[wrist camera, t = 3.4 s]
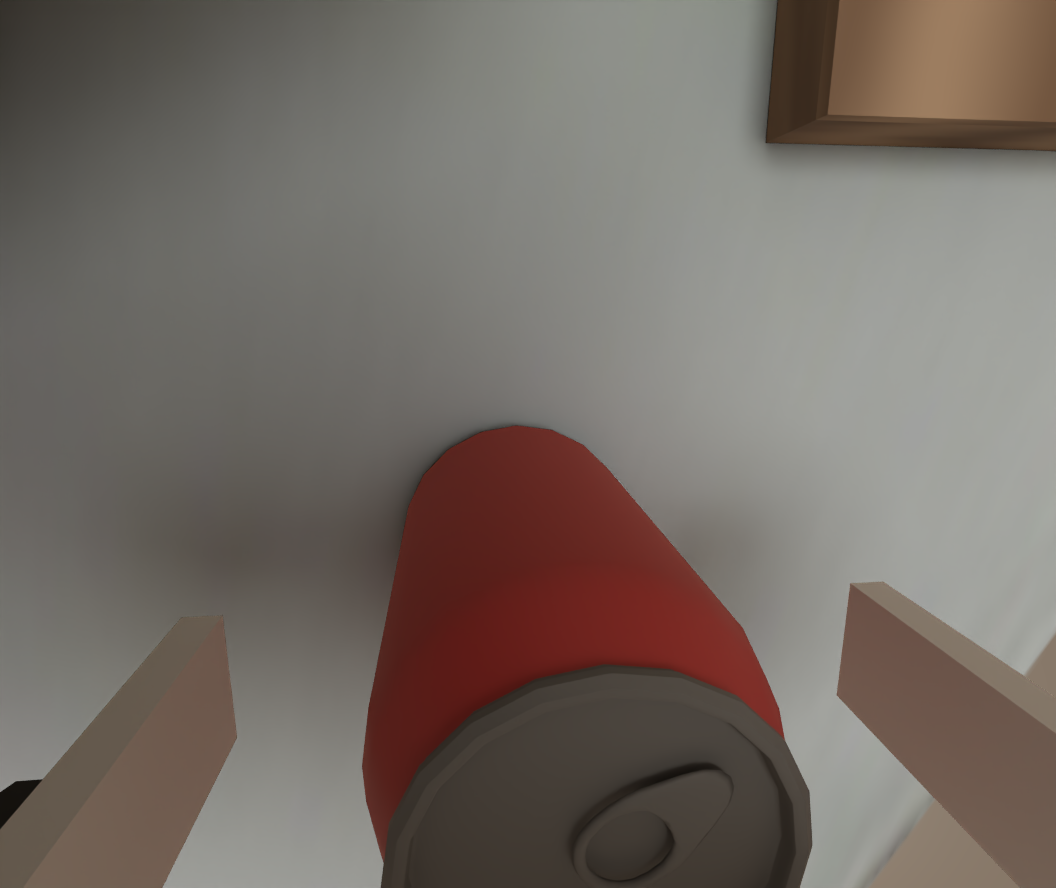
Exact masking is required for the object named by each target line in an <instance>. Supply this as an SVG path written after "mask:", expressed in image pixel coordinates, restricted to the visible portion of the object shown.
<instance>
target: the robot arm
mask: <svg viewBox="0 0 1056 888" xmlns="http://www.w3.org/2000/svg"><path fill="white" fill-rule="evenodd" d="M837 696H838V697H839V698H840V699H841V700H842V701H843V702H844V703H845V704H846V706H847V707H848V708H849V709H850V710H851V711H852V712H853V713H854V714H855V715H856V716H857V717H858V718H859V719H860V720H861V721H862V722H863V723H864V724H865V725H866V727H867V728H868V729H869V730H870V731H871V732H872V733H873V734H874V735H875V736H876V737H877V738H878V739H879V740H880V741H881V742H882V743H883V744H884V745H885V747H886V748H887V749H888V750H889V751H890V752H891V753H892V754H893V755H894V756H895V757H896V758H897V759H898V760H899V761H900V762H901V763H902V764H903V765H904V766H905V768H906V769H907V770H908V771H909V772H910V773H911V774H912V775H913V776H914V777H915V778H916V779H917V780H918V781H919V782H920V783H921V784H922V785H923V786H924V787H925V789H926V790H927V791H928V792H929V793H930V794H931V795H932V796H933V797H934V798H935V799H936V800H937V801H938V802H939V803H940V804H941V805H942V806H943V807H944V809H945V810H946V811H948V813H949V814H950V815H951V816H952V817H953V818H954V819H955V820H956V821H957V822H958V823H959V824H960V825H961V826H962V827H963V828H964V830H965V831H966V832H967V833H968V834H969V835H970V836H971V837H972V838H973V839H974V840H975V841H976V842H977V843H978V844H979V845H980V846H981V847H982V848H983V849H984V850H985V852H986V853H987V854H988V855H989V856H990V857H991V858H992V859H993V860H994V861H995V862H996V863H997V864H998V865H999V866H1000V867H1001V868H1002V869H1003V870H1004V871H1005V873H1006V874H1007V875H1008V876H1009V877H1010V878H1011V879H1012V880H1013V881H1014V882H1015V883H1016V884H1017V885H1018V886H1019V887H1020V888H1056V697H1054V696H1053V695H1051V694H1050V693H1048V692H1047V691H1046V690H1044V689H1043V688H1041V687H1039V686H1038V685H1037V684H1035V683H1033V682H1032V681H1031V680H1029V679H1028V678H1026V677H1025V676H1023V675H1022V674H1020V673H1019V672H1017V671H1016V670H1014V669H1013V668H1011V667H1010V666H1008V665H1007V664H1005V663H1004V662H1002V661H1001V660H999V659H998V658H996V657H995V656H993V655H992V654H990V653H989V652H987V651H986V650H984V649H983V648H981V647H980V646H978V645H977V644H975V643H974V642H972V641H971V640H969V639H968V638H966V637H965V636H963V635H962V634H960V633H959V632H957V631H956V630H954V629H953V628H952V627H950V626H949V625H947V624H946V623H944V622H943V621H941V620H940V619H938V618H937V617H935V616H934V615H932V614H931V613H929V612H928V611H926V610H925V609H923V608H922V607H920V606H919V605H917V604H916V603H914V602H913V601H911V600H910V599H908V598H907V597H905V596H904V595H902V594H901V593H899V592H898V591H896V590H895V589H893V588H892V587H890V586H889V585H887V584H886V583H884V582H869V583H850V591H849V599H848V607H847V615H846V624H845V632H844V640H843V648H842V656H841V664H840V672H839V680H838V688H837ZM236 738H237V733H236V725H235V716H234V708H233V699H232V691H231V683H230V674H229V666H228V657H227V649H226V641H225V632H224V624H223V615H220V616H201V617H182V618H181V619H180V620H179V621H178V622H177V623H176V625H175V626H174V627H173V628H172V629H171V630H170V632H169V633H168V634H167V635H166V636H165V637H164V639H163V640H162V641H161V642H160V643H159V644H158V646H157V647H156V648H155V649H154V650H153V651H152V653H151V654H150V655H149V656H148V657H147V658H146V660H145V661H144V662H143V663H142V664H141V665H140V667H139V668H138V669H137V670H136V671H135V672H134V674H133V675H132V676H131V677H130V678H129V679H128V681H127V682H126V683H125V684H124V685H123V686H122V688H121V689H120V690H119V691H118V692H117V693H116V695H115V696H114V697H113V698H112V699H111V700H110V702H109V703H108V704H107V705H106V706H105V707H104V709H103V710H102V711H101V712H100V713H99V714H98V716H97V717H96V718H95V719H94V720H93V722H92V723H91V724H90V725H89V726H88V727H87V729H86V730H85V731H84V732H83V733H82V734H81V736H80V737H79V738H78V739H77V740H76V741H75V743H74V744H73V745H72V746H71V747H70V748H69V750H68V751H67V752H66V753H65V754H64V755H63V757H62V758H61V759H60V760H59V761H58V762H57V764H56V765H55V766H54V767H53V768H52V769H51V771H50V772H49V773H48V774H47V775H46V776H45V778H44V779H42V780H28V781H16V782H14V783H13V784H12V785H10V786H9V787H7V788H6V789H4V790H3V791H1V792H0V888H162V887H163V885H164V883H165V881H166V879H167V877H168V875H169V873H170V871H171V869H172V867H173V865H174V863H175V861H176V859H177V857H178V855H179V853H180V851H181V849H182V847H183V845H184V843H185V841H186V839H187V837H188V835H189V833H190V831H191V829H192V827H193V825H194V823H195V821H196V819H197V817H198V815H199V813H200V811H201V809H202V807H203V805H204V803H205V801H206V799H207V797H208V795H209V793H210V791H211V789H212V787H213V785H214V783H215V781H216V779H217V777H218V775H219V773H220V771H221V769H222V767H223V765H224V763H225V761H226V758H227V756H228V754H229V752H230V750H231V748H232V746H233V744H234V742H235V740H236Z"/></svg>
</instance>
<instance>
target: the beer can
mask: <svg viewBox="0 0 1056 888" xmlns="http://www.w3.org/2000/svg"><path fill="white" fill-rule="evenodd" d="M362 769H363V778H364V786H365V795H366V802H367V806H368V809H369V813H370V817H371V820H372V824H373V827H374V831H375V835H376V838H377V842H378V845H379V849H380V853H381V856H382V859H383V862H384V866H383V874H382V882H381V888H800V885H801V881H802V878H803V875H804V871H805V868H806V865H807V862H808V858H809V855H810V852H811V848H812V829H811V812H810V795H809V790H808V788H807V785H806V783H805V781H804V779H803V777H802V775H801V773H800V771H799V769H798V767H797V765H796V762H795V760H794V758H793V756H792V754H791V752H790V750H789V748H788V746H787V744H786V742H785V739H784V733H783V728H782V722H781V717H780V711H779V708H778V705H777V703H776V700H775V698H774V696H773V693H772V691H771V688H770V686H769V683H768V681H767V679H766V676H765V674H764V672H763V670H762V668H761V666H760V664H759V661H758V659H757V657H756V655H755V653H754V651H753V649H752V647H751V645H750V642H749V640H748V638H747V636H746V634H745V632H744V630H743V628H742V627H741V625H740V624H739V623H738V622H737V621H736V620H735V618H734V617H733V616H732V615H731V614H730V612H729V611H728V610H727V609H726V608H725V607H724V605H723V604H722V603H721V602H720V601H719V599H718V598H717V597H716V596H715V595H714V594H713V592H712V591H711V590H710V589H709V588H708V586H707V585H706V584H705V583H704V582H703V581H702V579H701V578H700V577H699V576H698V575H697V574H696V572H695V571H694V570H693V569H692V568H691V566H690V565H689V564H688V563H687V562H686V561H685V559H684V558H683V557H682V556H681V555H680V553H679V552H678V551H677V550H676V549H675V548H674V546H673V545H672V544H671V543H670V542H669V540H668V539H667V538H666V537H665V536H664V535H663V533H662V532H661V531H660V530H659V529H658V528H657V526H656V525H655V524H654V523H653V522H652V520H651V519H650V518H649V517H648V516H647V515H646V513H645V512H644V511H643V510H642V509H641V507H640V506H639V505H638V504H637V503H636V502H635V500H634V499H633V498H632V497H631V496H630V494H629V493H628V492H627V491H626V490H625V489H624V487H623V486H622V485H621V484H620V483H619V482H618V480H617V479H616V478H615V477H614V476H613V474H612V473H611V472H610V471H609V470H608V469H607V467H605V466H604V465H603V464H602V463H601V462H600V461H599V460H598V459H597V458H596V457H595V456H594V455H593V454H592V453H591V452H590V451H589V450H588V449H587V448H586V447H585V446H584V445H582V444H580V443H578V442H576V441H574V440H572V439H570V438H568V437H565V436H563V435H561V434H559V433H557V432H555V431H553V430H548V429H540V428H532V427H524V426H511V427H506V428H501V429H495V430H490V431H484V432H480V433H478V434H476V435H474V436H473V437H471V438H469V439H467V440H465V441H463V442H461V443H459V444H458V445H456V446H454V447H452V448H450V449H448V450H447V451H446V452H445V453H444V454H443V456H442V457H441V458H440V459H439V460H438V461H437V462H436V463H435V464H434V465H433V466H432V467H431V468H430V469H429V470H428V471H427V472H426V473H425V474H424V475H423V477H422V479H421V481H420V484H419V486H418V488H417V490H416V492H415V494H414V496H413V498H412V500H411V502H410V504H409V507H408V512H407V517H406V522H405V527H404V532H403V537H402V542H401V547H400V552H399V557H398V562H397V567H396V572H395V577H394V582H393V587H392V592H391V597H390V602H389V607H388V612H387V617H386V622H385V627H384V632H383V637H382V642H381V647H380V652H379V657H378V663H377V668H376V673H375V678H374V683H373V688H372V693H371V698H370V703H369V708H368V717H367V726H366V735H365V744H364V753H363V763H362Z"/></svg>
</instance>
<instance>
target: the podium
mask: <svg viewBox="0 0 1056 888" xmlns="http://www.w3.org/2000/svg"><path fill="white" fill-rule="evenodd" d="M766 143H797V144H833V145H870V146H906V147H942V148H978V149H1014V150H1050V151H1056V0H778V7H777V19H776V31H775V43H774V55H773V67H772V79H771V90H770V102H769V114H768V126H767V138H766Z"/></svg>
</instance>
